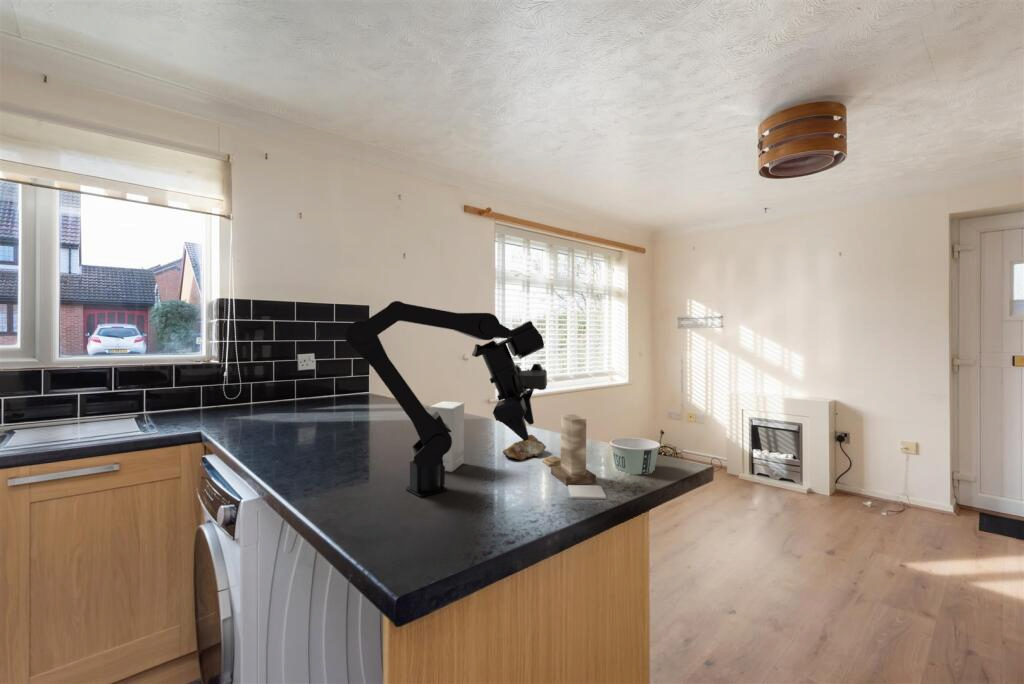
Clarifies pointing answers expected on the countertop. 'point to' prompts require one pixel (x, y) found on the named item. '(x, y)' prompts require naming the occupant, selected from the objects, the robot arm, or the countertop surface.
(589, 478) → the walnut rack
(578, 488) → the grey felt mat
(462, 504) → the countertop surface
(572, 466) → the tan wooden block
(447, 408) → the skincare box
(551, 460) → the oak offcuts
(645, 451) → the food container
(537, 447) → the decorative stone
